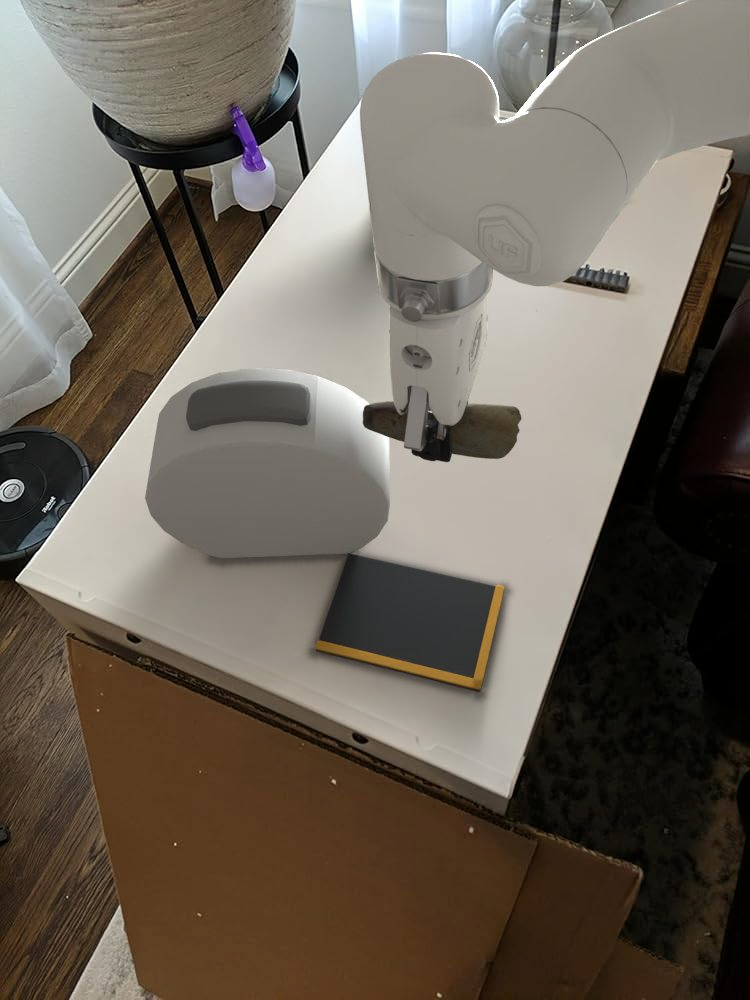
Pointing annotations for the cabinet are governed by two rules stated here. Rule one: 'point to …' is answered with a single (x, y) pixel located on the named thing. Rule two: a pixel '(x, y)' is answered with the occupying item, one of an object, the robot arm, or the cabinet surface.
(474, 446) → the stone
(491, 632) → the corner mat
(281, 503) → the alarm clock
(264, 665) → the cabinet surface
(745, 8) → the robot arm
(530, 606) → the cabinet surface
